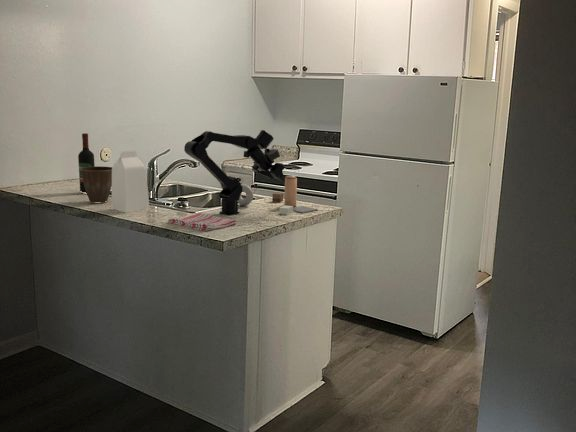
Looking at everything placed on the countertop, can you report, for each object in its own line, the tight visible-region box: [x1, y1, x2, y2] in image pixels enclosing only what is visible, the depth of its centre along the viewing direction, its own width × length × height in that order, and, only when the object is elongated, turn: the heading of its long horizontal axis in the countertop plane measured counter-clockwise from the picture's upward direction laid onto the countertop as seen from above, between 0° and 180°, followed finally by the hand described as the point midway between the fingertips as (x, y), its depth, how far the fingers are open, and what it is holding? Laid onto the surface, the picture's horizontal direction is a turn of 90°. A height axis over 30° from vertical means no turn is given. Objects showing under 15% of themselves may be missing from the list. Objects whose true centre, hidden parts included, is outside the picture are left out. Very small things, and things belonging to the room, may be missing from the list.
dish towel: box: [167, 212, 237, 232], centre depth 244 cm, size 17×23×4 cm
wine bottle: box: [77, 132, 96, 192], centre depth 304 cm, size 8×8×30 cm
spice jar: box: [283, 175, 298, 207], centre depth 282 cm, size 6×6×14 cm
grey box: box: [278, 205, 294, 216], centre depth 267 cm, size 6×4×3 cm, turn 157°
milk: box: [111, 150, 150, 213], centre depth 266 cm, size 12×12×26 cm
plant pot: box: [81, 166, 113, 203], centre depth 282 cm, size 15×15×16 cm
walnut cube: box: [271, 192, 284, 203], centre depth 294 cm, size 4×4×4 cm
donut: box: [237, 183, 254, 207], centre depth 281 cm, size 10×4×10 cm, turn 64°
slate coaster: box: [293, 205, 319, 214], centre depth 274 cm, size 10×10×1 cm
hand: (278, 179), depth 277 cm, fingers open, 9 cm apart
